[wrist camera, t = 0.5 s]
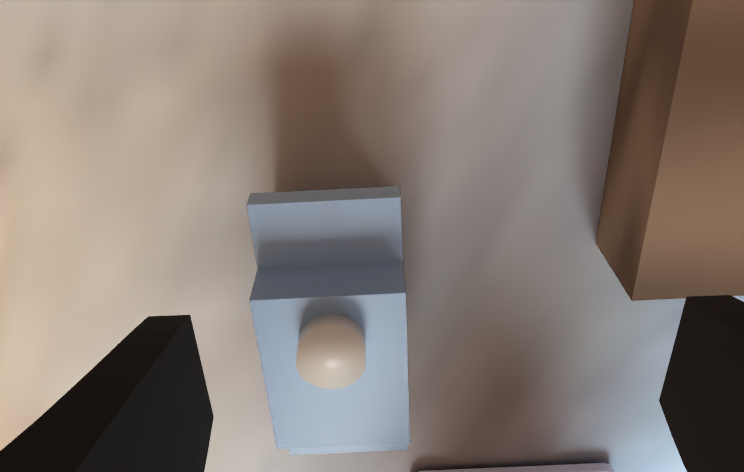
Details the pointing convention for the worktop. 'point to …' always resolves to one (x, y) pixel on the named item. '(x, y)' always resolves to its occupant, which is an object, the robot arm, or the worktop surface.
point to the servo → (332, 318)
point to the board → (678, 153)
